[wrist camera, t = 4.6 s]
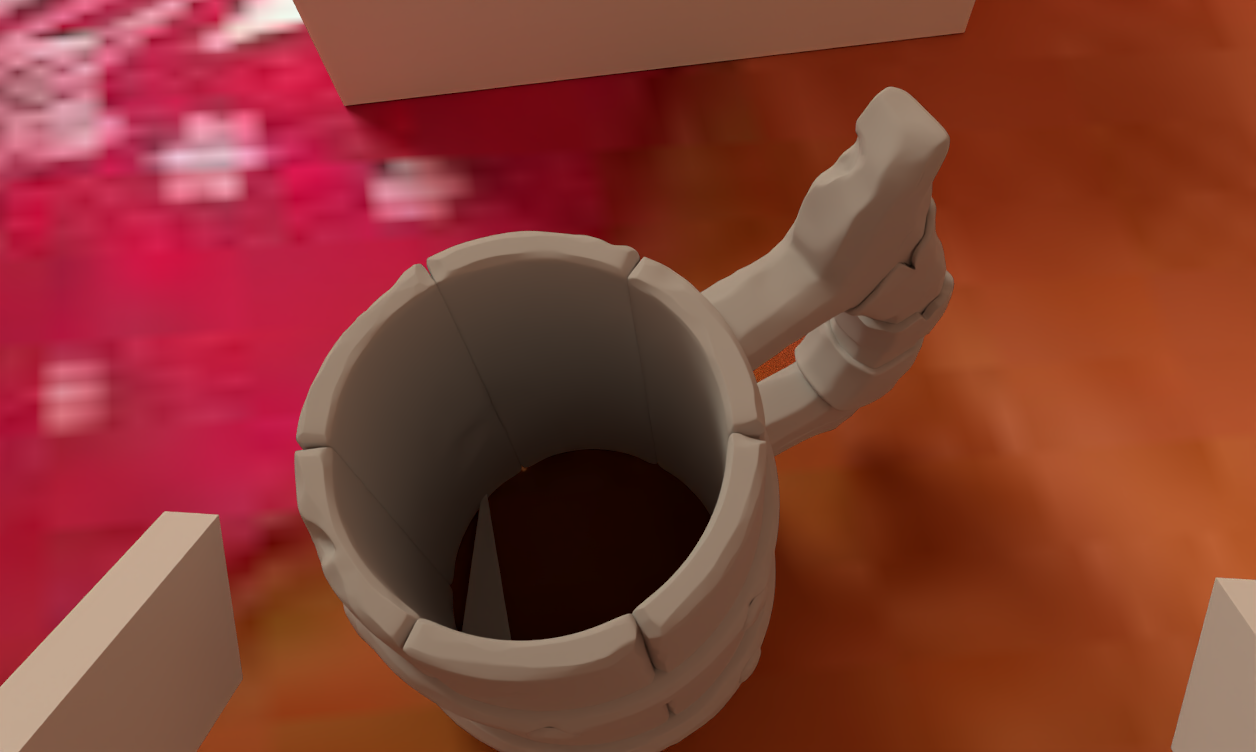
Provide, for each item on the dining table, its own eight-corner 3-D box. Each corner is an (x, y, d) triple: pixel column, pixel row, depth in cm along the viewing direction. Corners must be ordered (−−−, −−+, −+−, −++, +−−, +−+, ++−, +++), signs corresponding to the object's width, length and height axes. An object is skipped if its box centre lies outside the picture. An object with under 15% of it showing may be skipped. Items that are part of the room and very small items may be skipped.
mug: (347, 541, 25) (63, 309, 13) (780, 259, 27) (844, -145, 15) (533, 854, 22) (371, 888, 11) (997, 517, 24) (1260, 255, 13)
